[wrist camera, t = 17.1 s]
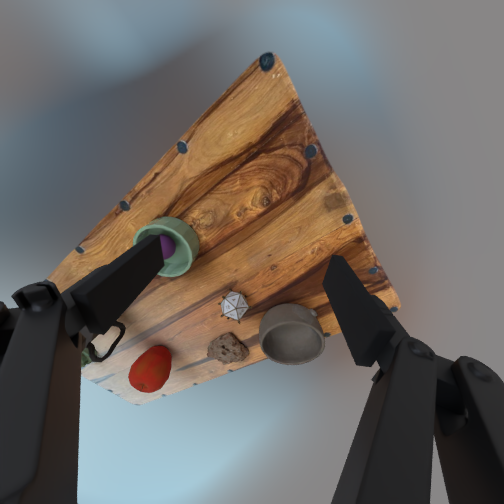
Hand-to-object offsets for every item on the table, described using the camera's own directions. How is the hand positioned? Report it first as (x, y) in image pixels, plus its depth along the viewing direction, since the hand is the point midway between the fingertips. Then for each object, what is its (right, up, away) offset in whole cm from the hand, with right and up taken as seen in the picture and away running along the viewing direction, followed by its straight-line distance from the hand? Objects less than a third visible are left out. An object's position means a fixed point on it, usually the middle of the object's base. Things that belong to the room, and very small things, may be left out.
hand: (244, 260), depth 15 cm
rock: (-8, -33, +52) cm, 62 cm away
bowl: (+11, -19, +43) cm, 48 cm away
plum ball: (-20, +2, +29) cm, 35 cm away
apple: (-32, -35, +55) cm, 73 cm away
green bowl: (-19, +3, +33) cm, 38 cm away
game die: (-4, -12, +40) cm, 42 cm away
